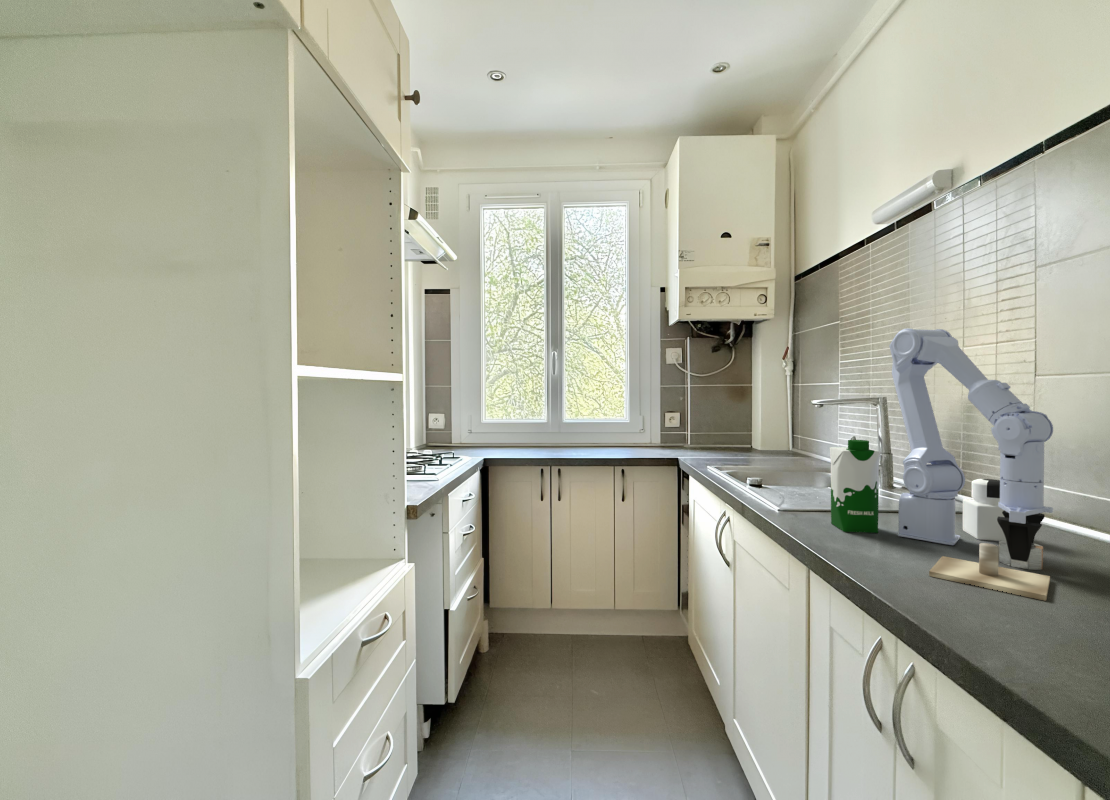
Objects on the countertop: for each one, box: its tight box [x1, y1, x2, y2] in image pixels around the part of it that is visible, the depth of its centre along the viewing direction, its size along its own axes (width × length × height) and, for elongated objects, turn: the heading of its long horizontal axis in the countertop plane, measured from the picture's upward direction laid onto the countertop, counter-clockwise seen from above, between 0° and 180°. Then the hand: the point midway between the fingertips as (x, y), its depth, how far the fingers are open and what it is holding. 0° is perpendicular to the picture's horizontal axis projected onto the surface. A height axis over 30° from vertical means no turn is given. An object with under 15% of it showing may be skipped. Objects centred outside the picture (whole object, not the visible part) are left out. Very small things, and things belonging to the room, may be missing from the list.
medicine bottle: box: [962, 478, 1006, 542], centre depth 106 cm, size 7×7×12 cm
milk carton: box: [829, 439, 881, 534], centre depth 113 cm, size 9×9×20 cm
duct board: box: [928, 542, 1051, 602], centre depth 83 cm, size 14×11×6 cm
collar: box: [998, 540, 1044, 571], centre depth 89 cm, size 6×6×4 cm
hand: (1020, 556), depth 89 cm, fingers closed on collar, 6 cm apart
